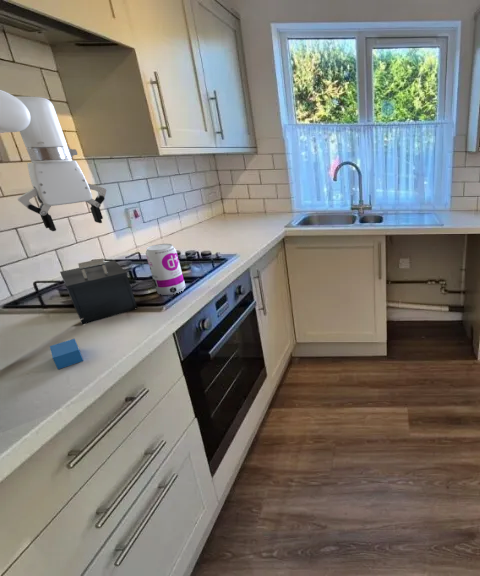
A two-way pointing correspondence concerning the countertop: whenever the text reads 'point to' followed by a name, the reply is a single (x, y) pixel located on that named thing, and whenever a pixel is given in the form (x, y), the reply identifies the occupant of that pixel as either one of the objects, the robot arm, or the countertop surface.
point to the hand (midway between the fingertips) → (76, 226)
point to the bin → (102, 299)
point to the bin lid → (92, 273)
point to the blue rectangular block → (66, 353)
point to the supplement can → (165, 269)
